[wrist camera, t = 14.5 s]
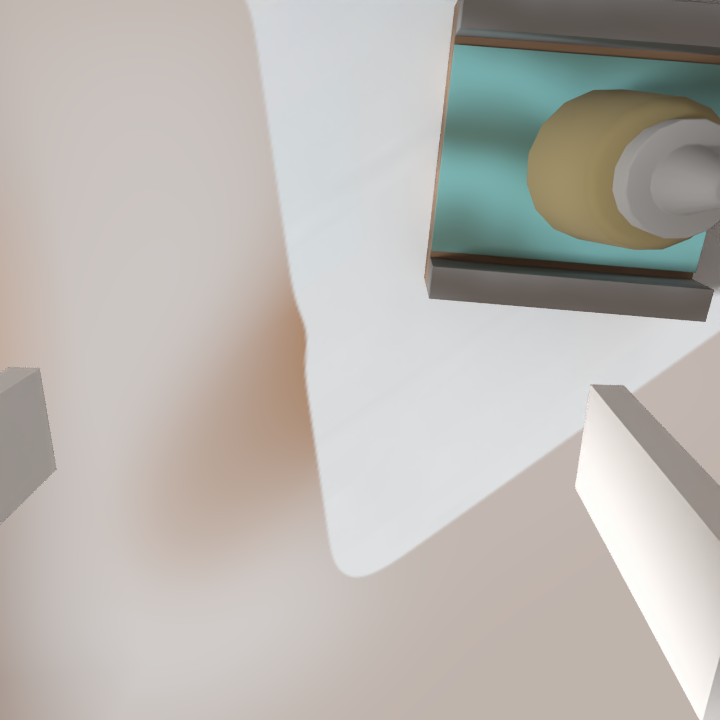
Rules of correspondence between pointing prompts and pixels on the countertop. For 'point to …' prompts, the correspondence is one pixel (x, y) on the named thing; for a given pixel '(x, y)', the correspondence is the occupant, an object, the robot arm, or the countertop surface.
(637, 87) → the dock
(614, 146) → the squeeze bottle
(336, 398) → the countertop surface
